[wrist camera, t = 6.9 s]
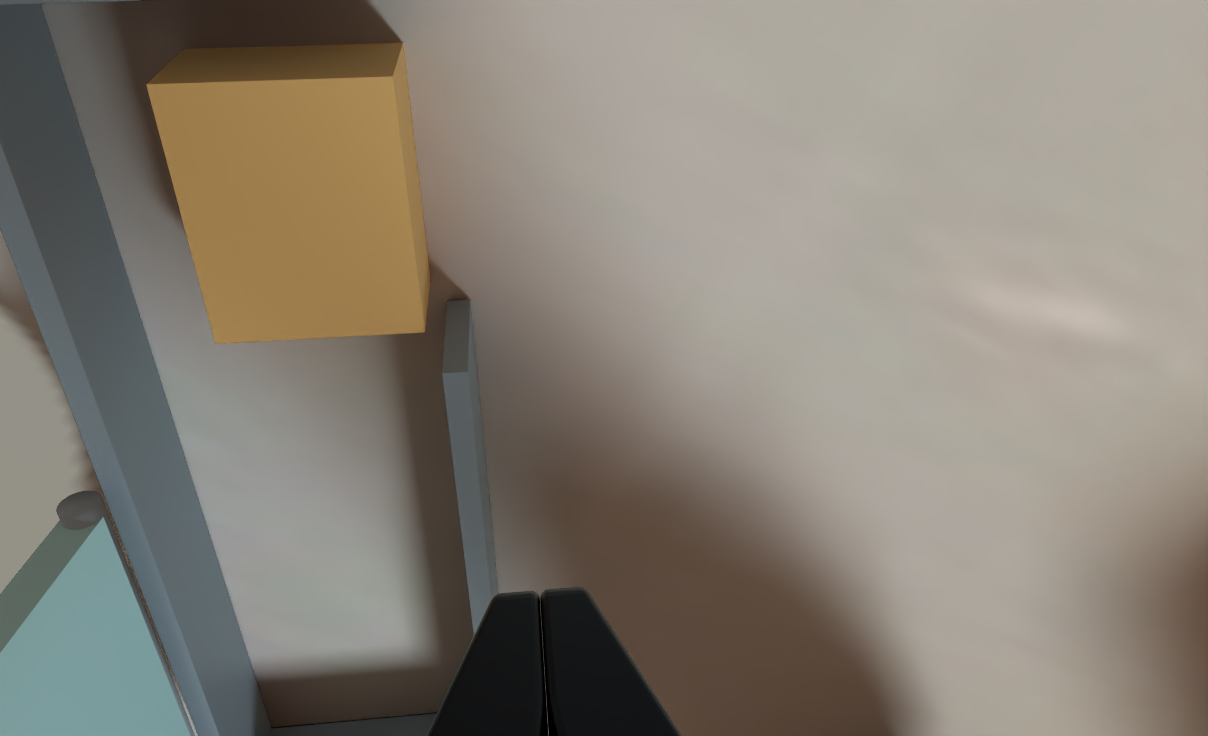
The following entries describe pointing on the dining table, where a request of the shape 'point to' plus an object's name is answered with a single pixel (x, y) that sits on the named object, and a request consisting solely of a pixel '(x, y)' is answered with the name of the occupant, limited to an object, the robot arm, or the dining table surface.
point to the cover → (82, 639)
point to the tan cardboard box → (297, 188)
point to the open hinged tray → (139, 406)
